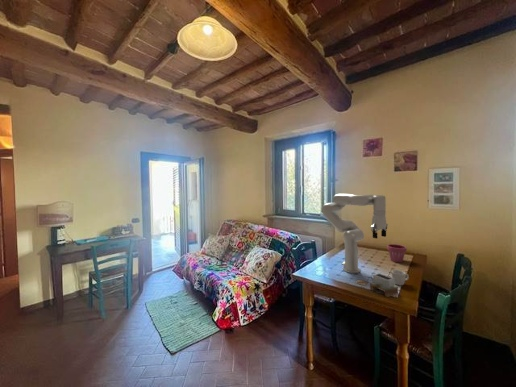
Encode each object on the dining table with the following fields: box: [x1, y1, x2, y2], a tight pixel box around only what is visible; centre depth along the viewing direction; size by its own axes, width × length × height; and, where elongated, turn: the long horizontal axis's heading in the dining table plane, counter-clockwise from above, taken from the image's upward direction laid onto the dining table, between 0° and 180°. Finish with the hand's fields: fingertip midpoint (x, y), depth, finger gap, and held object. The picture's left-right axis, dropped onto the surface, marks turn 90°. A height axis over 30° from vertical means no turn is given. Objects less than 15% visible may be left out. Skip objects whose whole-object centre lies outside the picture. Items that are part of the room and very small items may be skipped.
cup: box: [391, 269, 409, 286], centre depth 152 cm, size 11×8×8 cm
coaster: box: [355, 279, 368, 286], centre depth 154 cm, size 7×7×1 cm
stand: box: [369, 281, 399, 298], centre depth 142 cm, size 12×10×4 cm
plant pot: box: [386, 243, 407, 263], centre depth 197 cm, size 14×14×13 cm
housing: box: [372, 272, 395, 289], centre depth 142 cm, size 10×6×5 cm, turn 28°
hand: (379, 237), depth 158 cm, fingers open, 9 cm apart
